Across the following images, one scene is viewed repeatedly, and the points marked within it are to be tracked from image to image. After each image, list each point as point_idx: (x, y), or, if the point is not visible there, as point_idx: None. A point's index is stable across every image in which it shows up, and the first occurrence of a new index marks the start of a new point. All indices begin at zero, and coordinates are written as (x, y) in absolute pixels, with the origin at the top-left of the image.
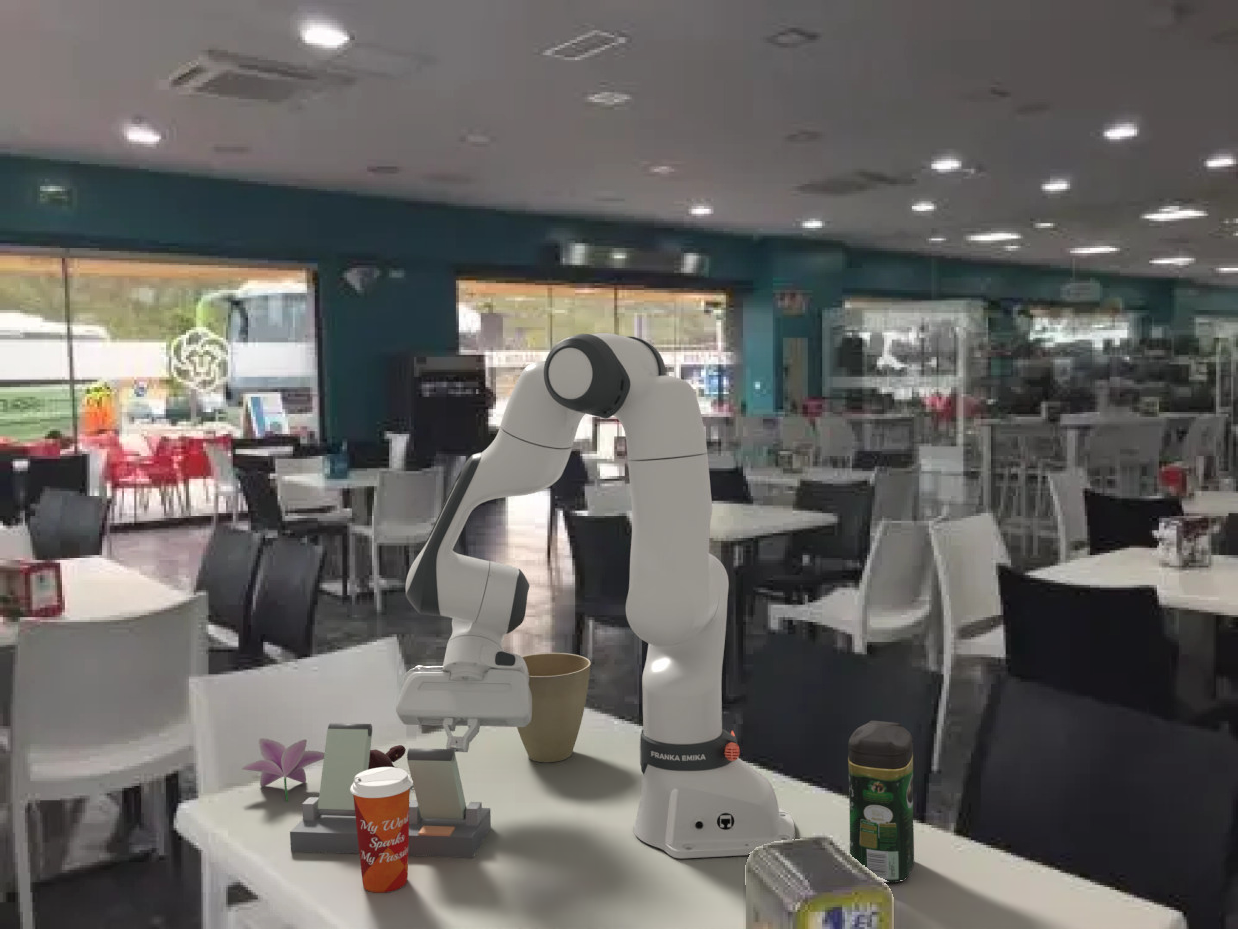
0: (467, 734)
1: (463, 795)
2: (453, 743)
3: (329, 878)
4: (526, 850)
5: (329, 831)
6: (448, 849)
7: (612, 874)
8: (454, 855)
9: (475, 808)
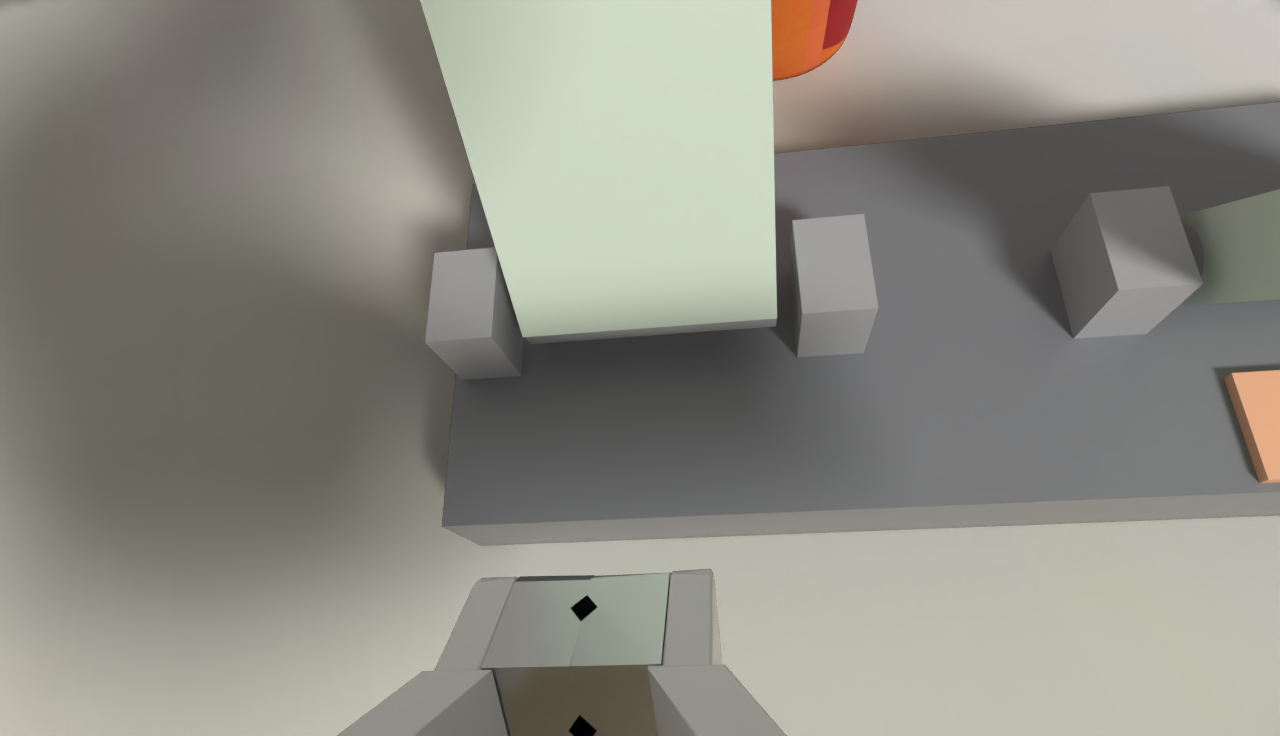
0: (421, 687)
1: (494, 235)
2: (624, 595)
3: (1005, 8)
4: (297, 333)
5: (1224, 119)
6: None
7: (14, 210)
8: None
9: (444, 256)
